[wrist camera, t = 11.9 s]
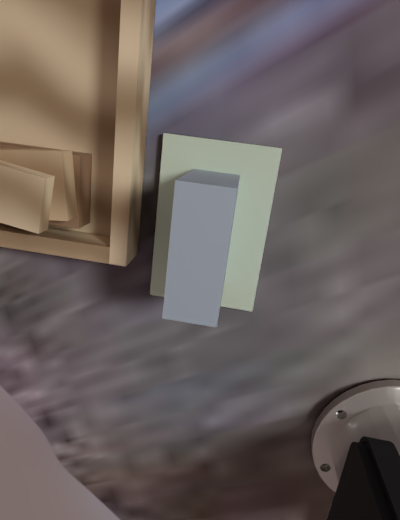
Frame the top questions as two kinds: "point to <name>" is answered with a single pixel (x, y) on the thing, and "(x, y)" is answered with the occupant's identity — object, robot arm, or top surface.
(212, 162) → the mat
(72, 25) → the tray
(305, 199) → the top surface
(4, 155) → the offcut oak
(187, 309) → the grey rectangular block
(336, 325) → the top surface
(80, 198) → the tan flat block
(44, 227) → the offcut pine
